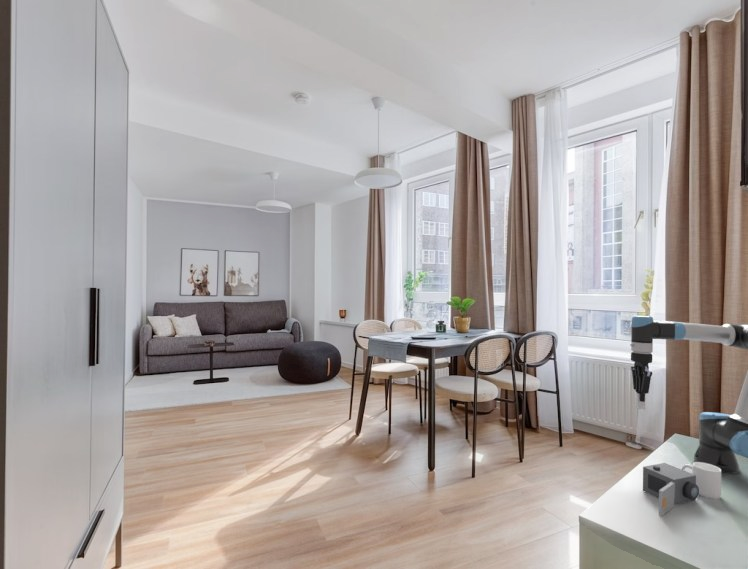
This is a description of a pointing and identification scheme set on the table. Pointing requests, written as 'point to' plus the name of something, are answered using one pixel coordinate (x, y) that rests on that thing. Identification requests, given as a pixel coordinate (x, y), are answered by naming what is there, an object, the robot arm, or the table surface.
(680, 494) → the camera body
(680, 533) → the table surface
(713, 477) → the cup
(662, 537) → the table surface
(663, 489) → the side door
